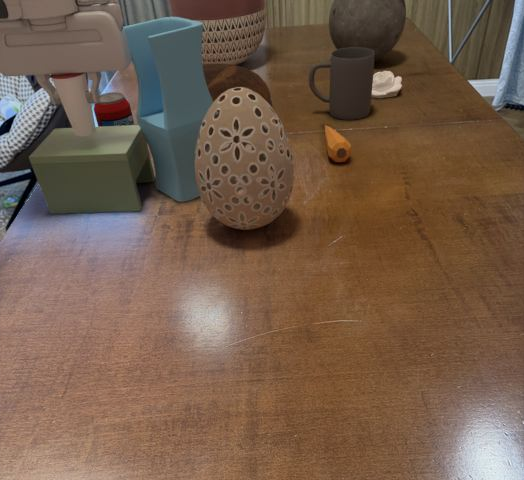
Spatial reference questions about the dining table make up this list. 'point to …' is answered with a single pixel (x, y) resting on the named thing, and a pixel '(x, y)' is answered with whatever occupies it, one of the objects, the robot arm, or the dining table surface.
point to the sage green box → (93, 169)
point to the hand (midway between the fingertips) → (76, 103)
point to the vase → (171, 98)
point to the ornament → (243, 161)
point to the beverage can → (113, 110)
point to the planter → (225, 27)
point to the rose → (385, 84)
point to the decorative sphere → (367, 24)
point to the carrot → (337, 145)
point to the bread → (233, 80)
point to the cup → (75, 101)
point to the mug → (348, 82)
